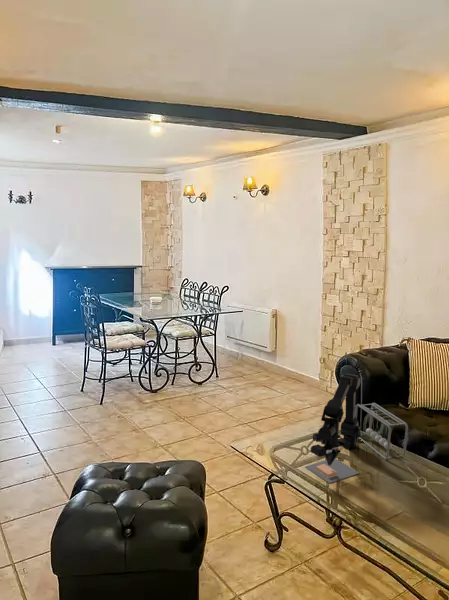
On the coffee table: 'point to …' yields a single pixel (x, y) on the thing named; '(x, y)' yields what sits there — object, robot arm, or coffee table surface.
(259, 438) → the coffee table surface
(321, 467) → the tile
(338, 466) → the mat
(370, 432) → the newton's cradle
